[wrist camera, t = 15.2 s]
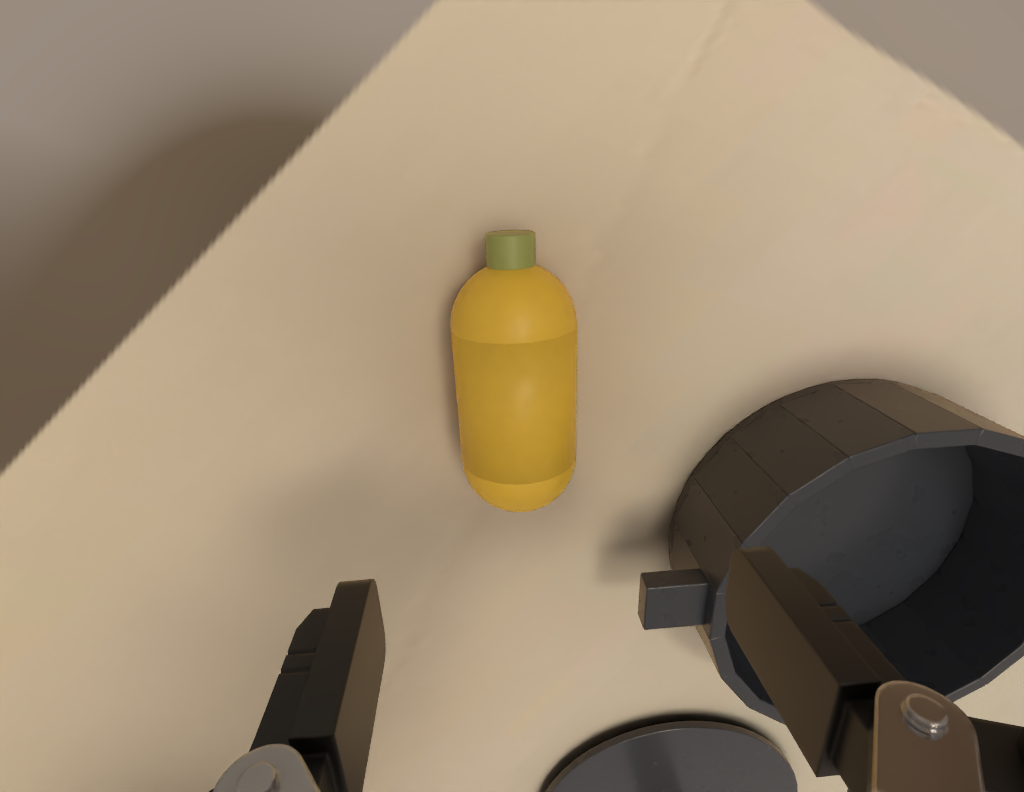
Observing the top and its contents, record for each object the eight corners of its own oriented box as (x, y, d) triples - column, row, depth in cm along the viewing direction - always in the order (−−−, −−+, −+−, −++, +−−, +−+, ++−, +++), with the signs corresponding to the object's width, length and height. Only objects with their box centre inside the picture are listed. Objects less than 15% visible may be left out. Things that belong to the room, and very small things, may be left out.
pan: (974, 624, 32) (1068, 709, 27) (612, 656, 31) (640, 751, 26) (1074, 364, 26) (1222, 411, 21) (623, 393, 25) (663, 451, 20)
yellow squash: (566, 470, 26) (585, 531, 22) (466, 477, 26) (465, 540, 21) (565, 223, 22) (590, 236, 17) (445, 229, 21) (438, 244, 17)
